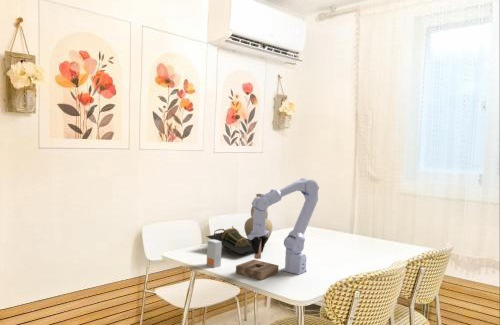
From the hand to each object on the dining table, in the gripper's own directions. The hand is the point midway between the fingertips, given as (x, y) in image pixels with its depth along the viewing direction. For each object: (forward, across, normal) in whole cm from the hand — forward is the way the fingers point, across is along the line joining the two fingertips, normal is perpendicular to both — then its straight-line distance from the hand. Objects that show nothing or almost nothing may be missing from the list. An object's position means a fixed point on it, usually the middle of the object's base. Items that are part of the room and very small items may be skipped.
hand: (258, 252), depth 181 cm
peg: (+2, 0, 0) cm, 2 cm away
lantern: (+10, -23, -34) cm, 42 cm away
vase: (+10, -45, -31) cm, 55 cm away
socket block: (+9, 0, 0) cm, 9 cm away
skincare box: (+10, +5, -22) cm, 25 cm away
